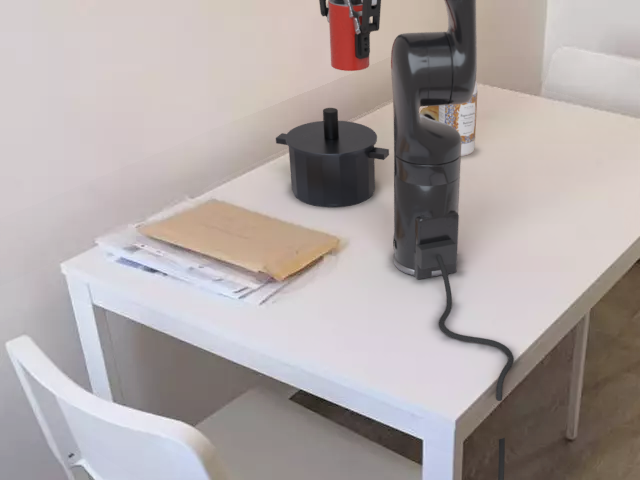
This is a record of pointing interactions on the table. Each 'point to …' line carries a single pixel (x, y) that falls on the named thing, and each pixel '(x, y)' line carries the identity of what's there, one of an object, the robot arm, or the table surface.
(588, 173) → the table surface
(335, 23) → the tomato can
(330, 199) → the pot
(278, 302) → the table surface
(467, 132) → the bath foam
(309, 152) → the pot lid
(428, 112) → the pastry
